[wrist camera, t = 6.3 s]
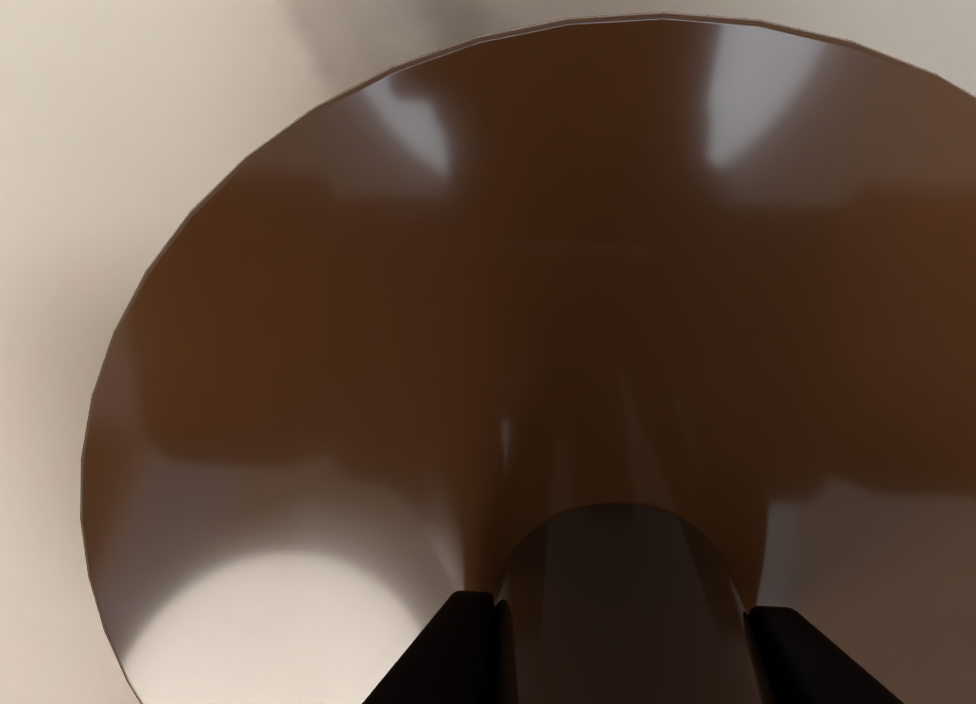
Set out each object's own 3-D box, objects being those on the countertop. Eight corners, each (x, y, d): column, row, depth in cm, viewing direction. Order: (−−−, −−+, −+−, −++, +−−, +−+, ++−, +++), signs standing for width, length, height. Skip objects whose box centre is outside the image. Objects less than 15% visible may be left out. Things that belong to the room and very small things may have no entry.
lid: (1333, 577, 9) (2116, 1113, 5) (572, 979, 13) (588, 1505, 8) (673, -310, 6) (981, -1116, 2) (-55, 513, 10) (-546, 907, 6)
